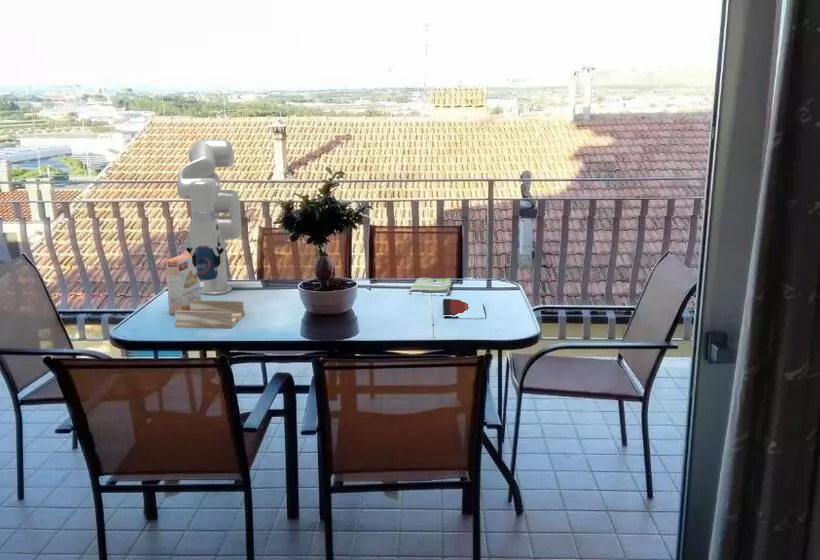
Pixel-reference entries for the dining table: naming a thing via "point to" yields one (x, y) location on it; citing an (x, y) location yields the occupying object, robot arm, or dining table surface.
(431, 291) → the dish towel
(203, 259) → the soda can
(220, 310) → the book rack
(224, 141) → the robot arm
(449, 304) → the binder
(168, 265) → the cracker box
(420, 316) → the dining table surface
